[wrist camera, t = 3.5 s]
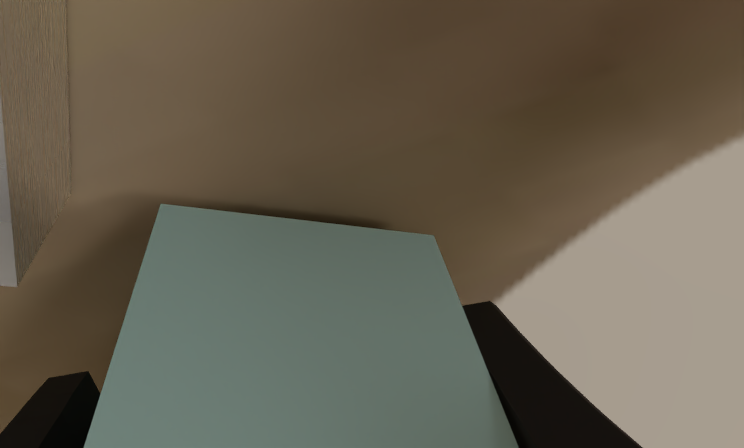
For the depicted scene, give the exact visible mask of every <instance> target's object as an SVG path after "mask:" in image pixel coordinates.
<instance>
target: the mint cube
mask: <svg viewBox="0 0 744 448" xmlns="http://www.w3.org/2000/svg"><path fill="white" fill-rule="evenodd" d="M84 448H519V447H518V445H517V442H516V440H515V437H514V435H513V432H512V430H511V427H510V425H509V422H508V420H507V417H506V415H505V412H504V410H503V407H502V405H501V402H500V400H499V397H498V395H497V392H496V390H495V387H494V385H493V382H492V380H491V377H490V375H489V372H488V370H487V367H486V365H485V362H484V360H483V357H482V355H481V352H480V350H479V347H478V345H477V342H476V340H475V337H474V335H473V332H472V330H471V327H470V325H469V322H468V320H467V317H466V315H465V312H464V310H463V307H462V305H461V302H460V300H459V297H458V295H457V292H456V290H455V287H454V285H453V282H452V280H451V277H450V275H449V272H448V270H447V267H446V265H445V262H444V260H443V258H442V255H441V253H440V250H439V248H438V245H437V243H436V240H435V238H434V235H426V234H418V233H409V232H401V231H392V230H383V229H375V228H366V227H358V226H349V225H340V224H332V223H323V222H315V221H306V220H297V219H289V218H280V217H271V216H263V215H254V214H246V213H237V212H228V211H220V210H211V209H203V208H194V207H185V206H177V205H168V204H160V208H159V211H158V214H157V217H156V220H155V223H154V227H153V230H152V233H151V236H150V239H149V242H148V246H147V249H146V252H145V255H144V258H143V261H142V265H141V268H140V271H139V274H138V277H137V280H136V284H135V287H134V290H133V293H132V296H131V299H130V303H129V306H128V309H127V312H126V315H125V318H124V322H123V325H122V328H121V331H120V334H119V337H118V341H117V344H116V347H115V350H114V353H113V356H112V359H111V363H110V366H109V369H108V372H107V375H106V378H105V382H104V385H103V388H102V391H101V394H100V397H99V401H98V404H97V407H96V410H95V413H94V416H93V420H92V423H91V426H90V429H89V432H88V435H87V439H86V442H85V445H84Z"/></svg>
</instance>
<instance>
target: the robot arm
mask: <svg viewBox="0 0 744 448" xmlns="http://www.w3.org/2000/svg"><path fill="white" fill-rule="evenodd" d="M462 307H463V310H464V312H465V315H466V317H467V320H468V322H469V325H470V327H471V330H472V332H473V335H474V337H475V340H476V342H477V345H478V347H479V350H480V352H481V355H482V357H483V360H484V362H485V365H486V367H487V370H488V372H489V375H490V377H491V380H492V382H493V385H494V387H495V390H496V392H497V395H498V397H499V400H500V402H501V405H502V407H503V410H504V412H505V415H506V417H507V420H508V422H509V425H510V427H511V430H512V432H513V435H514V437H515V440H516V442H517V445H518V447H519V448H642V447H641V446H640V445H639V444H638V443H636V442H635V441H634V440H633V439H632V438H631V437H630V436H628V435H627V434H626V433H625V432H624V431H623V430H621V429H620V428H619V427H618V426H617V425H615V424H614V423H613V422H612V421H611V420H610V419H609V418H607V417H606V416H605V415H604V414H603V413H602V412H601V411H600V410H599V409H597V408H596V407H595V406H594V405H593V404H592V403H591V402H590V401H589V400H588V399H587V398H586V397H584V396H583V395H582V394H581V393H580V392H579V391H578V390H577V389H576V388H575V387H574V386H573V385H572V384H571V383H570V382H569V381H568V380H566V379H565V378H564V377H563V376H562V375H561V374H560V373H559V372H558V371H557V370H556V369H555V368H554V367H553V366H552V365H551V364H550V363H549V362H548V361H547V360H546V359H545V358H544V357H543V356H542V355H541V354H540V353H539V352H538V351H537V350H536V349H535V347H534V346H533V345H532V344H531V343H530V342H529V341H528V340H527V339H526V338H525V337H524V336H523V335H522V334H521V333H520V332H519V331H518V330H517V328H516V327H515V326H514V325H513V324H512V323H511V322H510V321H509V320H508V319H507V317H506V316H505V315H504V314H503V313H502V312H501V311H500V309H499V308H498V307H497V306H496V305H495V304H493V303H492V302H490V301H487V302H482V303H476V304H470V305H464V306H462ZM99 397H100V392H99V391H98V389H97V387H96V385H95V383H94V381H93V379H92V377H91V375H90V374H89V372H88V371H87V372H81V373H75V374H69V375H64V376H58V377H52V378H48V379H47V381H46V382H45V383H44V384H43V385H42V386H41V387H40V388H39V389H38V390H37V392H36V393H35V394H34V395H33V396H32V397H31V399H30V400H29V401H28V402H27V403H26V404H25V406H24V407H23V408H22V409H21V410H20V411H19V413H18V414H17V415H16V416H15V417H14V418H13V420H12V421H11V422H10V423H9V424H8V426H7V427H6V428H5V429H4V430H3V431H2V433H1V434H0V448H84V445H85V442H86V439H87V435H88V432H89V429H90V426H91V423H92V420H93V416H94V413H95V410H96V407H97V404H98V401H99Z"/></svg>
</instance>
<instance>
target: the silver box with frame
mask: <svg viewBox="0 0 744 448" xmlns="http://www.w3.org/2000/svg"><path fill="white" fill-rule="evenodd" d="M70 195H71V163H70V126H69V90H68V54H67V18H66V0H0V286H10V287H18V285H19V283H20V281H21V280H22V278H23V276H24V274H25V273H26V271H27V269H28V268H29V266H30V264H31V262H32V261H33V259H34V257H35V255H36V254H37V252H38V250H39V248H40V247H41V245H42V243H43V242H44V240H45V238H46V236H47V235H48V233H49V231H50V229H51V228H52V226H53V224H54V222H55V221H56V219H57V217H58V216H59V214H60V212H61V210H62V209H63V207H64V205H65V203H66V202H67V200H68V198H69V196H70Z"/></svg>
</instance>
